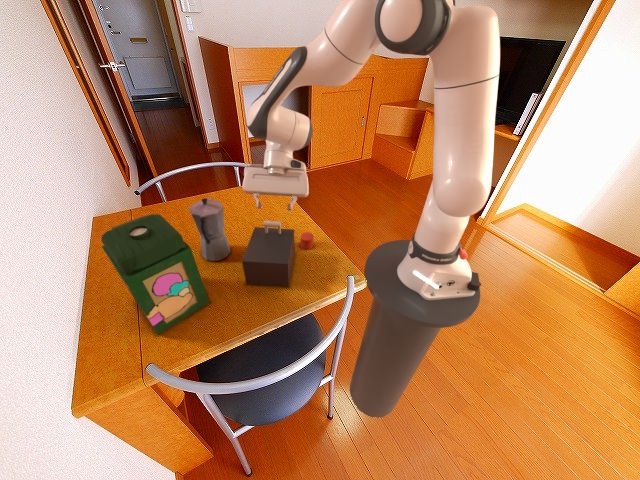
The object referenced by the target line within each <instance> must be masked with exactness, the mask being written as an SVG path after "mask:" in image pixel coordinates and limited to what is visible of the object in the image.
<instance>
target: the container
mask: <svg viewBox="0 0 640 480" xmlns="http://www.w3.org/2000/svg"><path fill="white" fill-rule="evenodd" d="M101 243H102V246H101V248H102V249H103V251H104V253H105V254H106V256H107V258H108V259H109V261H110V262H111V264H112V265H113V267H114V269H115V270H116V272H117V274H118V275H119V277H120V278H121V280H122V282H123V283H124V285H125V286H126V288H127V289H128V291H129V293H130V294H131V296H132V297H133V299H134V301H135V302H136V304H137V305H138V307H139V308H140V310H141V312H142V313H143V314H144V317H146V319H147V320H148V322H149V323H150V325H151V326H152V328H153V329H154V331H155V333H156V334H157V335H159V336H160V335H161V334H162V333H164V332H165V331H167V330H168V329H170V328H172V327H173V326H175V325H176V324H178V323H179V322H181V321H183V320H184V319H186V318H187V317H189V316H191V315H192V314H195V312H197V311H198V310H200V309H201V308H203V307H205V306H206V305H208V304H210V303H211V302H210V300H209V299H210V298H209V297H208V293H207V291H206V288H205V285H204V282H203V280H202V276H201V274H200V273H201V272H200V271H199V268H198V265H197V262H196V259H195V256H194V254H193V250H192V248H191V247H190V245H189V244H188V243H187V242H186V241H185V240H184V238H183V236H182V234H181V233H180V232H178V230H177V229H175V228H174V227H173V225H171V223H170V222H169V221H168V220H166V218H165V217H163V216H162V215H161V214H159V213H156V214H155V213H152V214H148V215H143V216H139V217H137V218H135V219H132V220H130V221H126V222H124V223H121V224H119V225H116V226H113V227H112V228H111V229H109V230H106V231H105V232H104V233H103V234H102V235H101Z"/></svg>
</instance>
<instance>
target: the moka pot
mask: <svg viewBox="0 0 640 480" xmlns="http://www.w3.org/2000/svg"><path fill="white" fill-rule="evenodd" d="M188 210H189V212H190V215H191V217H192V219H193V221H194V224H195V226H196V228H197V231H198V233H199V236H200V248H201V256H202V258H204V259H205V260H206V261H210V262H218V261H221V260H223V259H225V258H227V257H228V256H229V255H230V253H231V246H230V244H229V243H230V242H229V241H228V238H227V236H226V232H225V229H224V228H225V216H224V215H225V212H224V206H223V204H222V203H221V201H220V200H214V199H213V198H212V197H210V198H209V197H208V198H207V197H206V198H205V197H204V198H201V200H199V201H195V202H194V203H193V204H192V205H191V206H189V208H188Z"/></svg>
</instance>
